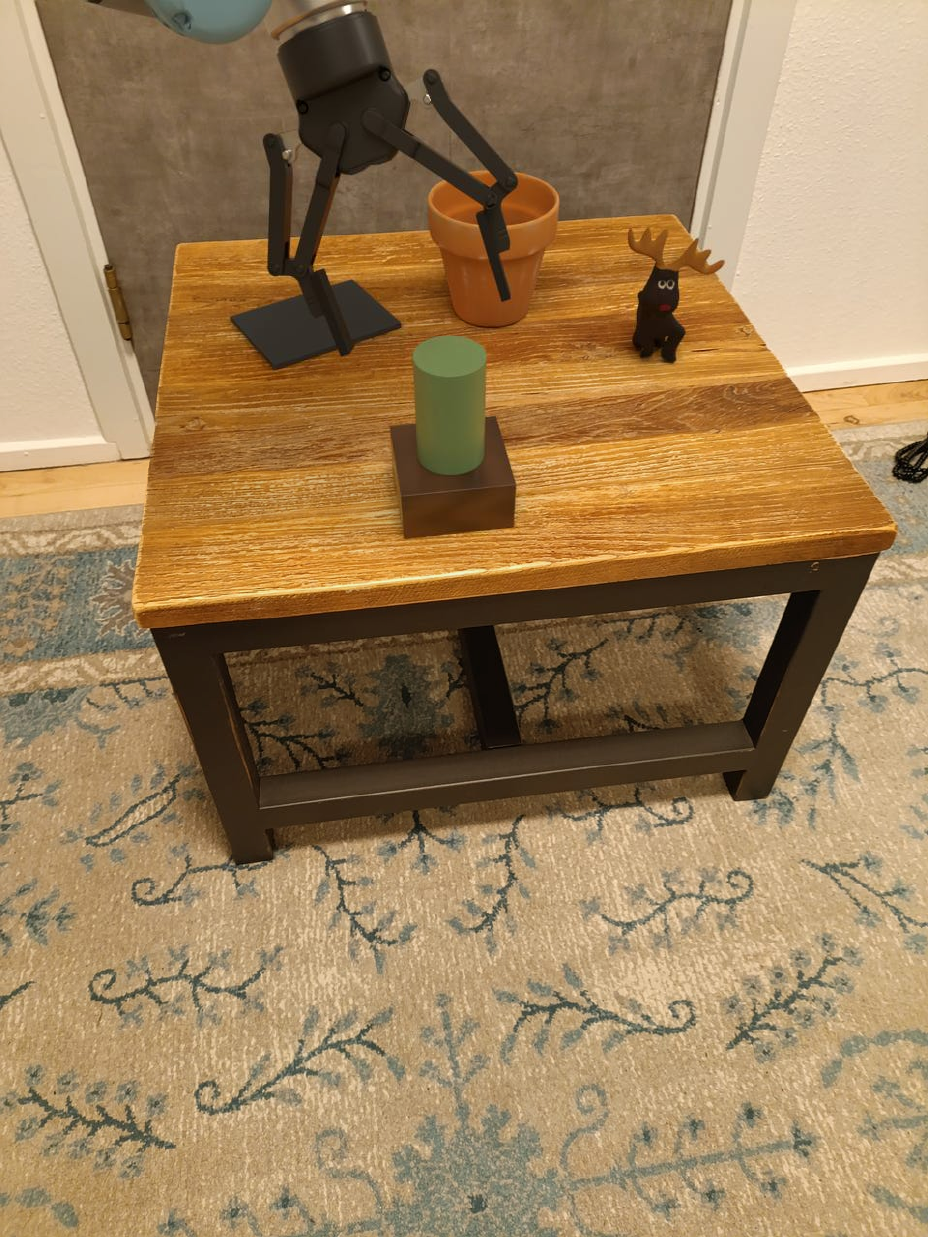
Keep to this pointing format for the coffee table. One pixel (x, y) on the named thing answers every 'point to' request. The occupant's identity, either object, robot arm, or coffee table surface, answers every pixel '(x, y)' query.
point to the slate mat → (311, 325)
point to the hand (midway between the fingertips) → (425, 325)
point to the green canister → (450, 404)
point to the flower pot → (466, 256)
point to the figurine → (663, 295)
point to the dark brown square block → (452, 488)
